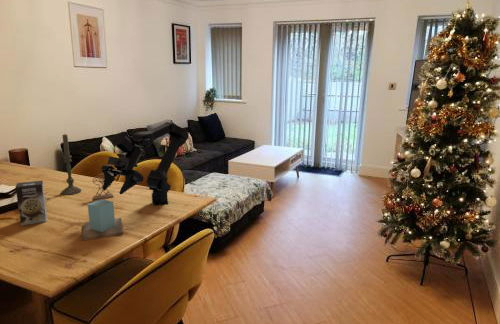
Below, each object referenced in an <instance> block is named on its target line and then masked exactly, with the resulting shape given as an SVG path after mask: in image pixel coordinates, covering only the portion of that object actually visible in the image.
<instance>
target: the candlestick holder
mask: <svg viewBox="0 0 500 324" xmlns="http://www.w3.org/2000/svg"><path fill="white" fill-rule="evenodd" d="M62 143H63V150H64V155H63V156H62V157H63V158H62V159H64V160H63V162H64V163H65V164H66V171H67V178H66V181H65V182H66V183H67V184H68V186H67V187H65V188H64V189H63V190H61V194H62V195H65V196H67V195H68V196H69V195H71V196H72V195H76V194H79V193H81V192H82V189H81V188H80V187H78V186H75V185H74V182H75V179H74V178H73V177H72V172H71V171H72V165H71V162H72V157H73V156H72V155H70V148H69V138H68V134H62Z"/></svg>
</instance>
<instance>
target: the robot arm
mask: <svg viewBox="0 0 500 324" xmlns="http://www.w3.org/2000/svg"><path fill="white" fill-rule="evenodd" d="M166 135H169V137H168V138H169V144H168V146H167V148H166V150H165V152H164V154H163V156H162V158H161V160H160V161H159V164H158V166H157V167H156V169H154V170H153V169H151V170H150V172H149V173H148V175H147V177H146V178H147V179H146V184H147V186H148V188H149V190H150V191H152V192H151V202H152V204H153V206H159V205H160V206H162V205H168V204H169V201H168V200H169V199H168V192H169V191H170V190H171V188H172V186H171V184H170V183H168V171H169V170H170V168H171V166H172V164H173V161H174V159H175V157H176V155H177V153H178V151H179V150H180V147H182V146H183V145H185V144H186V142H187V141H188V139H189V137H190V136H189V132H188V130H187V129H185V128H183V127H181V126H179V125H178V124H176V123H174V122H171V121H170V122H168V121H166V122H164V123H163V124H160V125H159V126H157V127H154V128H152V129H150V130H146V131H139V132H135V133H133V135H132V136H130V135H129V134H128V133H127V131H122V132H121V133H119V134H117V135H116V136H114V137H113V139H112V144H113V145H114V147H116V148H117V149H118V150H119V151H121V153H124V156H119V157H115V156H111V155H110V156H108V159H107V164H103V165H102V166H101V168H100V171H101V172H102V173H101V174H104V175H103V177H104V179H103V180H104V183H103V182H102V183H103V184H102V185H103V188H102V190H103V191H104V192H105V191H107V190H108V188H109V186H110V185H111V186H112V183H113V182H114V181H115V180H116V177H118V176H121V177H122V176H123V177H124V179H125V180H124V182H123V184H122V185H121V188H120V189H119V192H118V193H119V195H123V194H124V193H125V192H127V191H129V189H131V188H133V187H135V186H136V185H139V184H142V183H143V181H144V175H143V174H142V173H140V172H139V170H135V169H134V168H138V166H139V165H138V164H137V163H138V161H139V160H140V157H141V156H143V157H146V152H145V149H144V148H148V147H150V146H151V145H153V144H154V141H156V140H157V139H158V138H159V139H160V138H161V137H163V136H166ZM111 186H110V187H111ZM106 189H107V190H106Z"/></svg>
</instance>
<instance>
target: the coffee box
mask: <svg viewBox="0 0 500 324" xmlns="http://www.w3.org/2000/svg"><path fill="white" fill-rule="evenodd" d="M44 191H45V189H44V181H43V180H36V181H25V182H24V181H23V182H17V183H16V184H15V194H16V200H17V207H18V214H19V215H18V216H19V221H20V226H25V225H33V224H39V223H41V224H42V223H46V222H47V221H48V213H47V207H46V206H47V205H46V199H45V192H44Z"/></svg>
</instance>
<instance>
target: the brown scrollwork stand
mask: <svg viewBox="0 0 500 324" xmlns="http://www.w3.org/2000/svg"><path fill="white" fill-rule="evenodd" d="M101 175H102V176H101ZM96 182H98V183H96ZM92 183H93V184H94V185H96V186H98V190H97V192H96V193H95V195H93V196H92V198H93V201H98V200H100V199H103V200H107V199H110V198H111V199H112V198H114V194H113V193H112V192H110V191H109V190H108V188H109V187H111V186H112V184H111V185H110V186H109V187H108V188H107V189H106V190H105V191H107V192H105V191H104V190H103V183H104V173H99V174H98V175H97V178H96V177H94V178H92ZM100 184H101V187H100ZM100 190H101V192H100V193H99V191H100ZM102 193H103V194H102Z"/></svg>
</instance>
